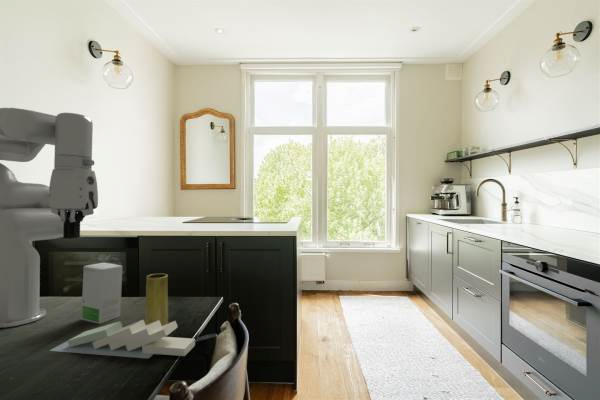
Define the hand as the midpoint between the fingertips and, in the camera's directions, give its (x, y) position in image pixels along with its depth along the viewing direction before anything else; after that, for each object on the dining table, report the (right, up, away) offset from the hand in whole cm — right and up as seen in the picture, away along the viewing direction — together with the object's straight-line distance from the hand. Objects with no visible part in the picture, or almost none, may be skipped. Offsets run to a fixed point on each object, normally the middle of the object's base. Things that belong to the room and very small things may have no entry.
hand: (71, 237), depth 77 cm
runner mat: (+13, -25, -4) cm, 29 cm away
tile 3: (+14, -24, -5) cm, 28 cm away
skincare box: (0, -25, +12) cm, 28 cm away
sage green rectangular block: (+4, -24, -3) cm, 24 cm away
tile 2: (+10, -24, -4) cm, 26 cm away
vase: (+18, -25, +6) cm, 32 cm away
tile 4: (+18, -24, -5) cm, 31 cm away
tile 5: (+22, -24, -6) cm, 33 cm away
